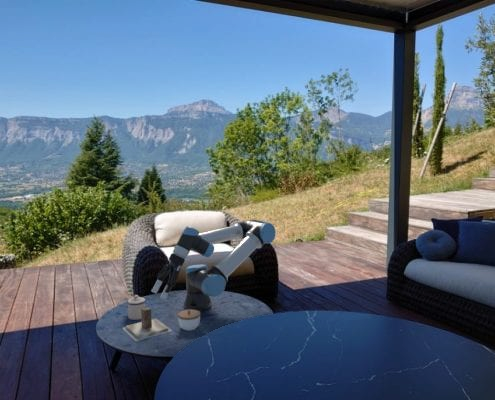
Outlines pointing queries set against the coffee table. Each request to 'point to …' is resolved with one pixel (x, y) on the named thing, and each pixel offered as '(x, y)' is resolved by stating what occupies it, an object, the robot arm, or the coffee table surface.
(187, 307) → the robot arm
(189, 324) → the lidded jar
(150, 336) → the mat
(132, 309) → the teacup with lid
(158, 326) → the board
